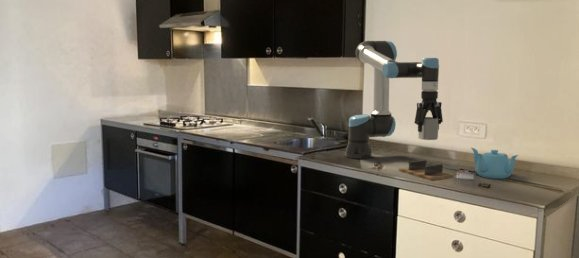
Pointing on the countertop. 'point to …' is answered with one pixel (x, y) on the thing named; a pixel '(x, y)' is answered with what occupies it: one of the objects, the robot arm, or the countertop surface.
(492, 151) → the teapot
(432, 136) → the cup
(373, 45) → the robot arm
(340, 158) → the countertop surface
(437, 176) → the end holder
